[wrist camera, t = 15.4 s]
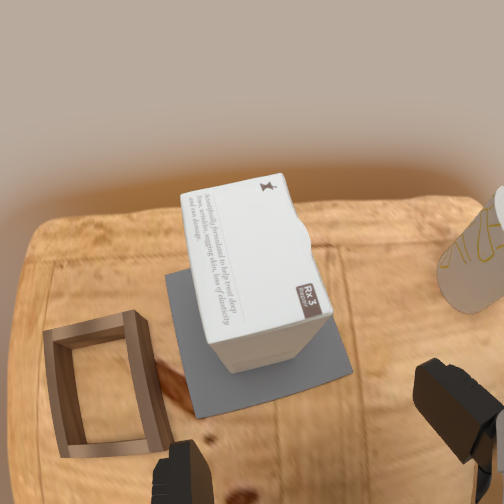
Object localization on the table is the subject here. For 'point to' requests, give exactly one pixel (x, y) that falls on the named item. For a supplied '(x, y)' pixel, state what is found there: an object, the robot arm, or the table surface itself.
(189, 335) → the charcoal mat
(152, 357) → the walnut collar
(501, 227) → the grey patterned cylinder
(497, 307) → the table surface
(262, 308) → the skincare box
